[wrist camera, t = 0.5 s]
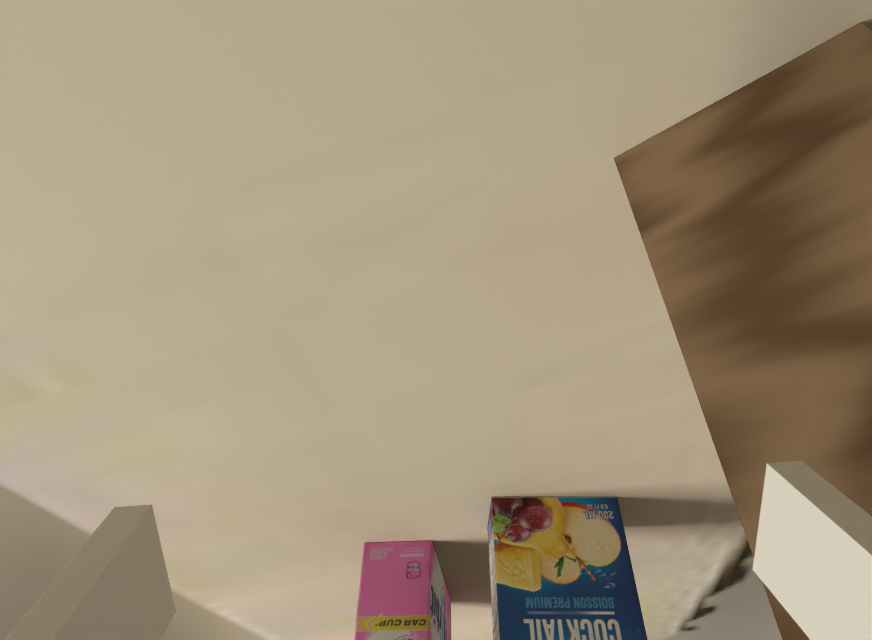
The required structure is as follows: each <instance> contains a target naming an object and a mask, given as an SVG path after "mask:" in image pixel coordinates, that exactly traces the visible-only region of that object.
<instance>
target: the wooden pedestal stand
mask: <svg viewBox="0 0 872 640" xmlns="http://www.w3.org/2000/svg"><path fill="white" fill-rule="evenodd" d="M614 160H615V163H616V166H617V169H618V171H619V174H620V177H621V180H622V183H623V186H624V189H625V191H626V194H627V197H628V200H629V203H630V206H631V208H632V211H633V214H634V217H635V220H636V223H637V226H638V228H639V231H640V234H641V237H642V240H643V243H644V246H645V248H646V251H647V254H648V257H649V260H650V263H651V266H652V268H653V271H654V274H655V277H656V280H657V283H658V285H659V288H660V291H661V294H662V297H663V300H664V303H665V305H666V308H667V311H668V314H669V317H670V320H671V323H672V325H673V328H674V331H675V334H676V337H677V340H678V343H679V345H680V348H681V351H682V354H683V357H684V360H685V362H686V365H687V368H688V371H689V374H690V377H691V380H692V382H693V385H694V388H695V391H696V394H697V397H698V400H699V402H700V405H701V408H702V411H703V414H704V417H705V420H706V422H707V425H708V428H709V431H710V434H711V437H712V439H713V442H714V445H715V448H716V451H717V454H718V457H719V459H720V462H721V465H722V468H723V471H724V474H725V477H726V479H727V482H728V485H729V488H730V491H731V494H732V497H733V499H734V502H735V505H736V508H737V511H738V514H739V516H740V519H741V522H742V525H743V528H744V531H745V534H746V536H747V539H748V542H749V545H750V548H751V551H752V554H753V556H755V548H756V540H757V533H758V525H759V518H760V510H761V503H762V495H763V488H764V480H765V473H766V465H767V463H777V462H791V461H802V462H804V463H805V464H806V465H807V466H809V467H810V468H811V469H813V470H814V471H815V472H816V473H818V474H819V475H820V476H821V477H823V478H824V479H825V480H826V481H828V482H829V483H830V484H831V485H833V486H834V487H835V488H836V489H838V490H839V491H840V492H841V493H843V494H844V495H845V496H847V497H848V498H849V499H850V500H852V501H853V502H854V503H855V504H857V505H858V506H859V507H860V508H862V509H863V510H864V511H865V512H867V513H868V514H869V515H870V516H872V30H871V29H870V28H869V27H868V26H866V25H865V24H864V23H863V22H862V23H860V24H858V25H856V26H854V27H852V28H851V29H849V30H847V31H845V32H843V33H841V34H840V35H838V36H836V37H834V38H832V39H831V40H829V41H827V42H825V43H823V44H821V45H820V46H818V47H816V48H814V49H812V50H810V51H809V52H807V53H805V54H803V55H801V56H800V57H798V58H796V59H794V60H792V61H790V62H789V63H787V64H785V65H783V66H781V67H780V68H778V69H776V70H774V71H772V72H770V73H769V74H767V75H765V76H763V77H761V78H759V79H758V80H756V81H754V82H752V83H750V84H749V85H747V86H745V87H743V88H741V89H739V90H738V91H736V92H734V93H732V94H730V95H728V96H727V97H725V98H723V99H721V100H719V101H718V102H716V103H714V104H712V105H710V106H708V107H707V108H705V109H703V110H701V111H699V112H698V113H696V114H694V115H692V116H690V117H688V118H687V119H685V120H683V121H681V122H679V123H677V124H676V125H674V126H672V127H670V128H668V129H667V130H665V131H663V132H661V133H659V134H657V135H656V136H654V137H652V138H650V139H648V140H646V141H645V142H643V143H641V144H639V145H637V146H636V147H634V148H632V149H630V150H628V151H626V152H625V153H623V154H621V155H619V156H617V157H616V158H614ZM762 582H763V581H762ZM763 585H764V588H765V591H766V593H767V596H768V599H769V602H770V605H771V607H772V610H773V613H774V616H775V619H776V622H777V625H778V628H779V630H780V633H781V636H782V639H783V640H810V639H809V638H808V636H807V635H806V634H805V633H804V632H803V630H802V629H801V628H800V627H799V625H798V624H797V623H796V622H795V621H794V619H793V618H792V617H791V616H790V614H789V613H788V612H787V611H786V610H785V608H784V607H783V606H782V605H781V603H780V602H779V601H778V600H777V598H776V597H775V596H774V595H773V594H772V592H771V591H770V590H769V589H768V587H767V586H766V585H765V584H764V583H763Z"/></svg>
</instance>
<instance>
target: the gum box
mask: <svg viewBox="0 0 872 640" xmlns="http://www.w3.org/2000/svg"><path fill="white" fill-rule="evenodd" d="M354 640H451V600H450V597H449V594H448V590H447V587H446V584H445V580H444V577H443V574H442V571H441V567H440V565H439V562H438V558H437V555H436V552H435V549H434V546H433V543H432V541H399V542H381V543H364V548H363V559H362V568H361V579H360V588H359V598H358V607H357V618H356V629H355V638H354Z"/></svg>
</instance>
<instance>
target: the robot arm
mask: <svg viewBox="0 0 872 640" xmlns="http://www.w3.org/2000/svg"><path fill="white" fill-rule="evenodd" d="M753 570H754V572H755V573H756V574H757V575H758V576H759V577H760V579H761V580H762V581H763V583H764V584H765V585H766V586H767V587H768V589H769V590H770V591H771V592H772V594H773V595H774V596H775V597H776V598H777V600H778V601H779V602H780V603H781V605H782V606H783V607H784V608H785V610H786V611H787V612H788V613H789V614H790V616H791V617H792V618H793V619H794V621H795V622H796V623H797V624H798V625H799V627H800V628H801V629H802V630H803V632H804V633H805V634H806V635H807V636H808V638H809V639H810V640H872V516H870V515H869V514H868V513H867V512H865V511H864V510H863V509H862V508H860V507H859V506H858V505H857V504H855V503H854V502H853V501H852V500H850V499H849V498H848V497H847V496H845V495H844V494H843V493H841V492H840V491H839V490H838V489H836V488H835V487H834V486H833V485H831V484H830V483H829V482H828V481H826V480H825V479H824V478H823V477H821V476H820V475H819V474H818V473H816V472H815V471H814V470H813V469H811V468H810V467H809V466H807V465H806V464H805V463H804V462H802V461H791V462H777V463H767V465H766V473H765V480H764V488H763V495H762V503H761V510H760V518H759V525H758V533H757V540H756V548H755V556H754V563H753ZM174 613H175V606H174V601H173V597H172V592H171V588H170V583H169V579H168V575H167V570H166V566H165V561H164V557H163V552H162V548H161V543H160V539H159V534H158V530H157V525H156V521H155V517H154V512H153V508H152V505H140V506H125V507H115V508H114V509H113V510H112V511H111V512H110V514H109V515H108V516H107V517H106V518H105V520H104V521H103V522H102V523H101V524H100V526H99V527H98V528H97V529H96V531H95V532H94V533H93V534H92V535H91V537H90V538H89V539H88V540H87V541H86V543H85V544H84V545H83V546H82V547H81V549H80V550H79V551H78V552H77V553H76V555H75V556H74V557H73V558H72V559H71V561H70V562H69V563H68V564H67V566H66V567H65V568H64V569H63V570H62V571H61V573H60V574H59V575H58V576H57V577H56V579H55V580H54V581H53V582H52V583H51V585H50V586H49V587H48V588H47V589H46V591H45V592H44V593H43V594H42V596H41V597H40V598H39V599H38V600H37V602H36V603H35V604H34V605H33V606H32V608H31V609H30V610H29V611H28V613H27V614H26V615H25V616H24V617H23V619H22V620H21V621H20V622H19V623H18V624H17V626H16V627H15V628H14V629H13V630H12V632H11V633H10V634H9V635H8V636H7V638H6V639H5V640H161V639H162V637H163V635H164V633H165V631H166V629H167V627H168V625H169V623H170V621H171V619H172V617H173V615H174Z"/></svg>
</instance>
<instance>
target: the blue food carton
mask: <svg viewBox="0 0 872 640" xmlns="http://www.w3.org/2000/svg"><path fill="white" fill-rule="evenodd" d="M488 545H489V565H490V584H491V604H492V623H493V640H647V636H646V631H645V626H644V622H643V617H642V612H641V607H640V603H639V598H638V593H637V588H636V584H635V579H634V574H633V569H632V565H631V560H630V555H629V550H628V546H627V541H626V536H625V531H624V527H623V522H622V517H621V512H620V508H619V503H618V498H617V497H492V498H491V506H490V514H489V521H488Z"/></svg>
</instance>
